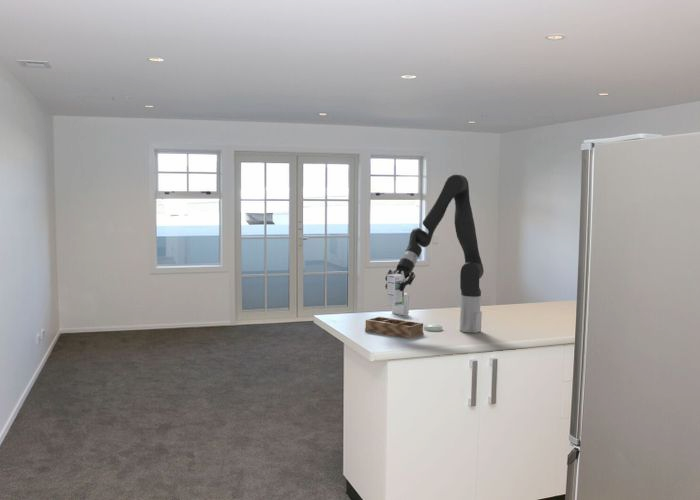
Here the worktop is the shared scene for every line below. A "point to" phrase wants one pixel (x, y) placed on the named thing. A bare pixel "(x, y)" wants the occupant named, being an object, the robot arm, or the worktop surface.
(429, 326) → the dish
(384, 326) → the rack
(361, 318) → the worktop surface
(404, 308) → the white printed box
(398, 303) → the syrup box
